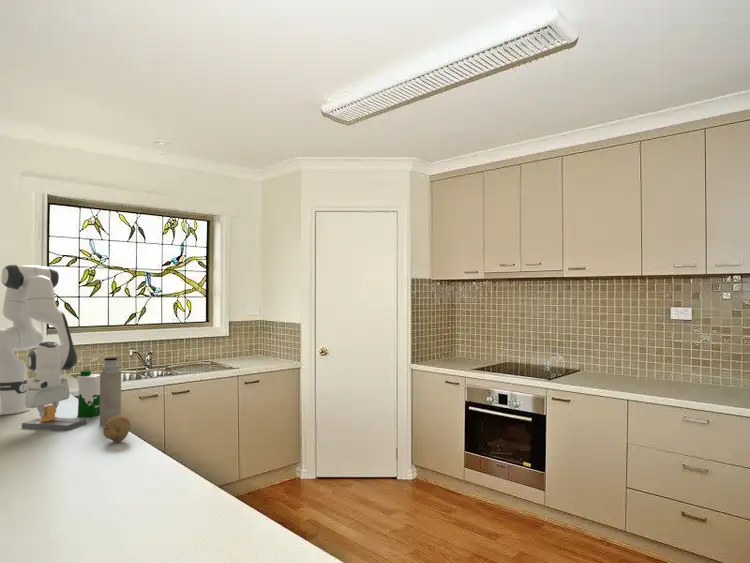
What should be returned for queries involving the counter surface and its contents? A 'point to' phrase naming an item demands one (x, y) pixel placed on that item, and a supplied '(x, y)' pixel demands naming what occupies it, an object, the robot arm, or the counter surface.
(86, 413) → the milk carton
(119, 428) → the natural sponge
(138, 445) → the counter surface
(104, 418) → the thermos bottle
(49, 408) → the fader knob
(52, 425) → the slider board
